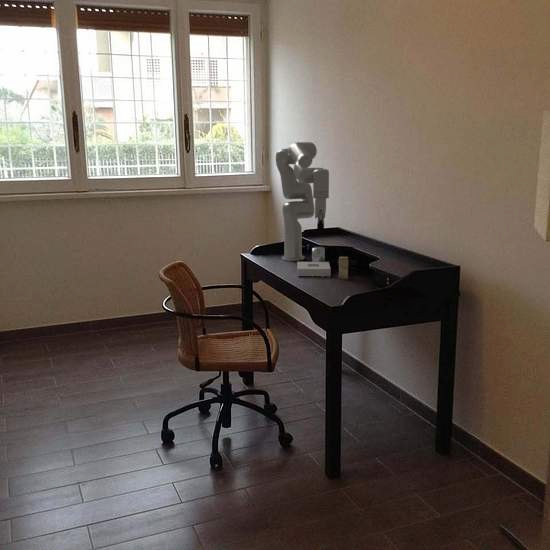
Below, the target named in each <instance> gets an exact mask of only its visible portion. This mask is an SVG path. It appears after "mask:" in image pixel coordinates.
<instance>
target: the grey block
mask: <svg viewBox="0 0 550 550" xmlns="http://www.w3.org/2000/svg"><path fill="white" fill-rule="evenodd" d="M325 249H326V248H325V247H324V246H313V247H312V248H311V262H326V261H325V258H326V257H325V256H326V255H325V253H326V251H325Z"/></svg>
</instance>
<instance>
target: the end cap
mask: <svg viewBox="0 0 550 550" xmlns="http://www.w3.org/2000/svg"><path fill="white" fill-rule="evenodd" d="M357 263H358V262H357V261H356V260H353V258H351V257H350V258H349V257H348V275H355V274H354V273H356V274H357V272H356V271H357V267H352V266H357ZM336 266H337V267H338V269H339V258H338V259H337V261H336Z"/></svg>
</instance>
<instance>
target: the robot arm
mask: <svg viewBox="0 0 550 550" xmlns="http://www.w3.org/2000/svg"><path fill="white" fill-rule="evenodd" d="M317 152H318V150H317V147H316V145H315V144H314V142H311V141H301V142H300V141H297V142H293V143H291V144H290V145H289V147H287V148H281V149H279V150H277V152H276V153H275V164H276V167H277V170H278V173H279V175H280V181H281V190H282V195H283V197H284V198H285V199H286V200H293V201H287V202H285V203H283V205H282V210H281V211H282V216H283V217H282V218H283V226H284V229H283V230H284V233H283V234H284V235H283V236H284V237H283V238H284V240H283V242H284V247H283V249H284V250H283V251H284V252H283V253H284V255H282V256H281V260H282V261H288V262H300V261H302V260H304V259H305V256H304V255H303V254H302V253H303V250H302V249H303V248H302V247H303V246H302V245H303V243H302V240H303V238H302V237H303V233H302V230H303V229H302V228H303V227H302V224H301V223H300V222H299V221H298V220H300V219H303V220H304V219H311V218H313V217H314V218H315V220H316V219H317V223H316V224H317V227H316V228H317V229H316V231H317V232H320V233H321V232H325V220H324V219H326V215H327V214H326V213H327V199H329V197H330V195H329V194H330V172H329V169H327V168H323V167H310V166H311V165H312V164H313V159H315V158H316V157H317ZM291 165H293V167H291ZM311 184H313V185H311ZM312 188H313V189H312ZM294 200H296V201H294ZM314 200H315V202H314Z"/></svg>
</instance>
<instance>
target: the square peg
mask: <svg viewBox="0 0 550 550" xmlns="http://www.w3.org/2000/svg"><path fill="white" fill-rule="evenodd" d="M348 258H349V257H348V256H339V257H338V259H339V268H338V279H339V278H341V279H340V280H349V279H348V277H349V274H348Z"/></svg>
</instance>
